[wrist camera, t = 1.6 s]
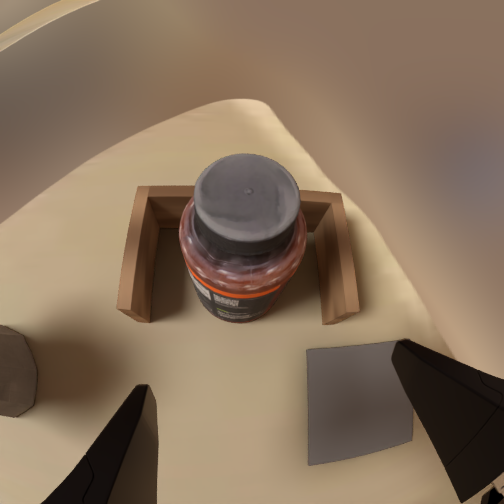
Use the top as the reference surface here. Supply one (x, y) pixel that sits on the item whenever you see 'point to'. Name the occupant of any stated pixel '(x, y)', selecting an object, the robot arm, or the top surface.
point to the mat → (355, 402)
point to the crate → (169, 216)
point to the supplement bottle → (242, 235)
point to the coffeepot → (16, 374)
